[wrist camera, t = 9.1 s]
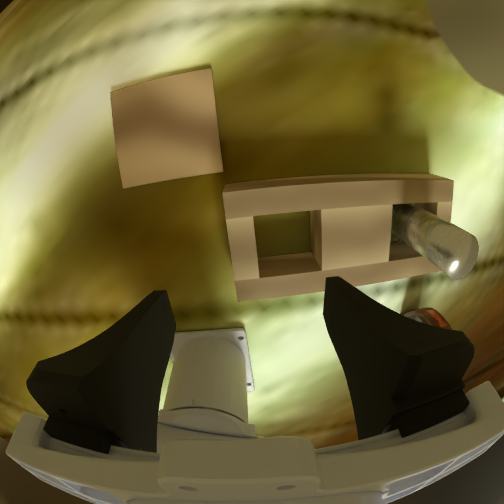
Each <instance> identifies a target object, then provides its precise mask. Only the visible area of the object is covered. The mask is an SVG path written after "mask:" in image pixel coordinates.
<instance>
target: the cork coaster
mask: <svg viewBox="0 0 504 504" xmlns="http://www.w3.org/2000/svg"><path fill="white" fill-rule="evenodd" d="M110 94H111V107H112V117H113V126H114V134H115V142H116V149H117V156H118V163H119V169H120V175H121V180H122V186H123V189H124V188H129V187H134V186H139V185H144V184H149V183H155V182H160V181H166V180H172V179H177V178H184V177H190V176H197V175H203V174H210V173H218V172H223V163H222V155H221V147H220V138H219V130H218V121H217V112H216V104H215V94H214V85H213V76H212V69H211V68H210V69H204V70H198V71H192V72H186V73H181V74H176V75H172V76H167V77H163V78H159V79H154V80H150V81H147V82H143V83H139V84H136V85H132V86H129V87H125V88H122V89H119V90H116V91H113V92H110Z"/></svg>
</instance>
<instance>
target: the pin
mask: <svg viewBox="0 0 504 504" xmlns="http://www.w3.org/2000/svg"><path fill="white" fill-rule="evenodd" d="M391 232H392V233H393V234H394V235H396V236H397V237H399V238H400V239H401V240H403V241H404V242H405V243H407V244H408V245H410V246H411V247H412V248H414V249H415V250H416V251H417V252H419V253H420V254H421V255H423V256H424V257H425V258H427V259H428V260H429V261H430V262H432V263H433V264H434V265H435V266H437V267H438V268H439V269H440V270H442V271H443V272H444V273H445V274H447V275H448V276H449V277H450V278H451V279H454V280H459V279H462V278H463V277H465V276H466V275H467V274H468V273H469V272H470V271H471V269H472V268H473V266H474V264H475V262H476V260H477V256H478V250H479V246H478V241H477V239H476V237H475V236H474V235H472V234H470V233H468V232H467V231H465V230H463V229H461V228H459V227H458V226H456V225H454V224H452V223H450V222H448V221H446V220H444V219H442V218H441V217H439V216H437V215H435V214H433V213H431V212H429V211H427V210H425V209H423V208H420V207H418V206H416V205H414V204H412V203H408V204H393V207H392V226H391Z"/></svg>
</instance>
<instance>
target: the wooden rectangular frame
mask: <svg viewBox="0 0 504 504" xmlns="http://www.w3.org/2000/svg"><path fill="white" fill-rule="evenodd" d="M453 183H454V181H453V180H450V179H447V178H444V177H440V176H437V175H433V174H430V173H366V174H338V175H320V176H304V177H291V178H279V179H268V180H258V181H249V182H240V183H231V184H225V186H224V189H223V192H222V195H223V202H224V210H225V217H226V224H227V232H228V239H229V246H230V253H231V260H232V266H233V273H234V280H235V286H236V293H237V299H238V302H240V301H249V300H258V299H267V298H276V297H284V296H292V295H300V294H307V293H314V292H322V291H325V281H326V277H334V276H339V277H341V278H343V279H344V280H345V281H347V282H348V283H350V284H351V285H353V286H354V287H355V286H361V285H367V284H373V283H379V282H385V281H391V280H396V279H402V278H407V277H413V276H418V275H423V274H428V273H433V272H438V271H442V270H440V269H439V268H438V267H437V266H435V265H434V264H433V263H432V262H430V261H429V260H428V259H427V258H425V257H424V256H423V255H421V254H420V253H419V252H417V251H416V250H415V249H414V248H412V247H411V246H410V245H408V244H407V243H405V242H404V241H398V242H390V240H391V226H392V207H393V204H408V203H414V205H416V206H418V207H420V208H423V209H425V210H427V211H429V212H431V213H433V214H435V215H437V216H439V217H441V218H442V219H444V220H446V221H448V222H450V220H451V211H452V199H453ZM300 211H309V212H310V241H311V252H305V253H296V254H287V255H278V256H269V257H261V258H257V250H256V240H255V231H254V221H253V216H260V215H269V214H279V213H289V212H300Z"/></svg>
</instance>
